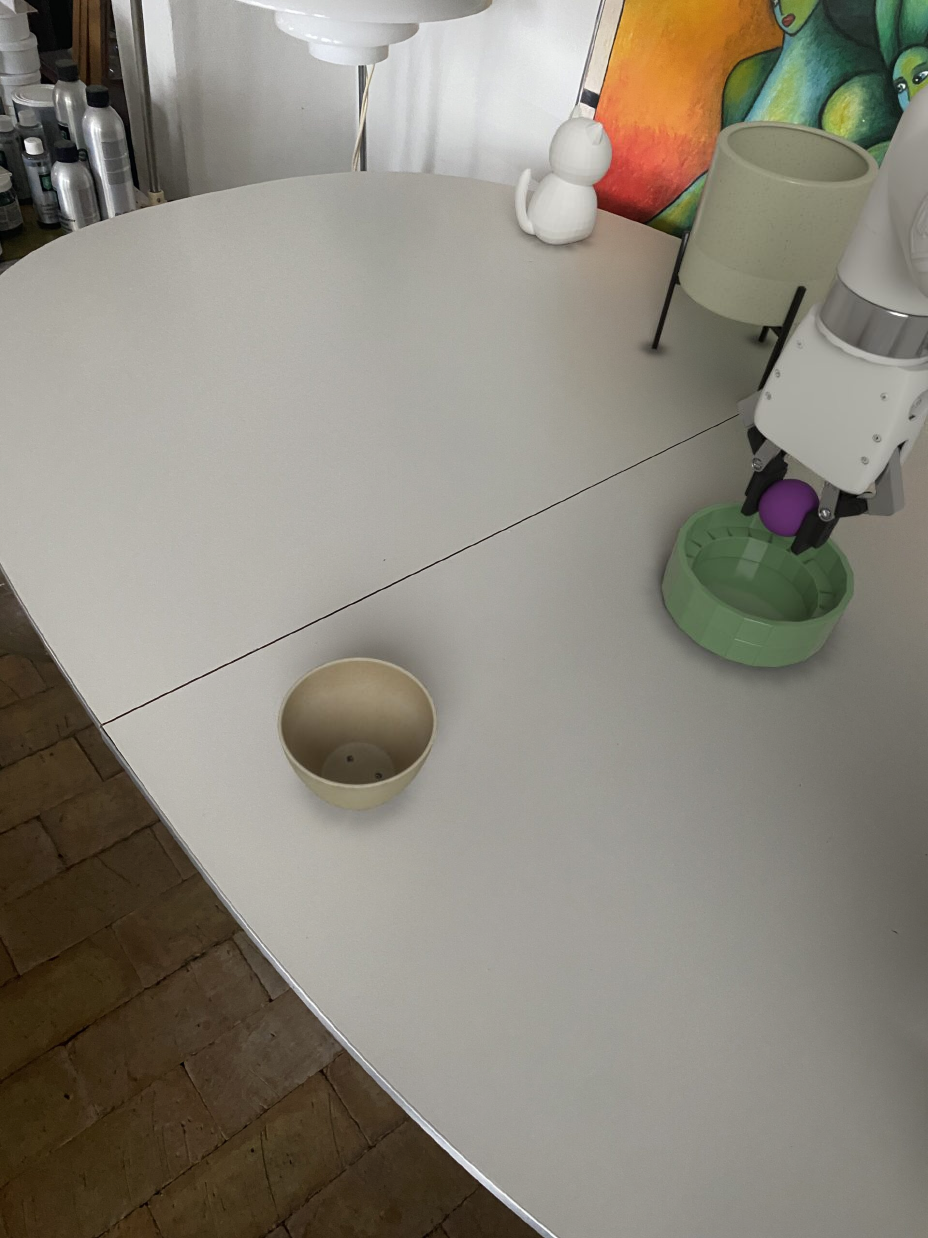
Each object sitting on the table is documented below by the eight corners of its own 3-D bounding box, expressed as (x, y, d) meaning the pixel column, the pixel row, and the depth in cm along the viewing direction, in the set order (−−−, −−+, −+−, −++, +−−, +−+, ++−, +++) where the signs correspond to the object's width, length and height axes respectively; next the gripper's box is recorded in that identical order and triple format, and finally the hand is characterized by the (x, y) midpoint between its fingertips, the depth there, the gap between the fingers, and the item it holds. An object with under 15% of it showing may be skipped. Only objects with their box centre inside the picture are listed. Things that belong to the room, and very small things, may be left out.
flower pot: (440, 834, 58) (448, 778, 53) (287, 851, 56) (279, 795, 51) (420, 711, 64) (426, 650, 59) (283, 723, 63) (275, 661, 57)
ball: (818, 535, 68) (841, 492, 64) (782, 556, 66) (804, 513, 63) (774, 502, 70) (795, 459, 67) (738, 522, 68) (758, 478, 65)
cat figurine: (609, 246, 116) (635, 125, 105) (525, 256, 113) (543, 132, 101) (578, 216, 122) (600, 98, 110) (497, 225, 118) (511, 103, 107)
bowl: (860, 624, 74) (889, 580, 70) (752, 699, 68) (776, 655, 64) (735, 527, 81) (755, 481, 77) (626, 586, 75) (641, 540, 71)
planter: (659, 315, 106) (717, 107, 88) (791, 344, 104) (876, 137, 86) (642, 382, 96) (704, 162, 78) (787, 416, 94) (883, 198, 77)
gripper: (1040, 362, 52) (897, 575, 65) (815, 240, 60) (730, 452, 74) (971, 400, 48) (837, 616, 62) (743, 265, 56) (669, 482, 70)
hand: (780, 525), depth 68 cm, fingers closed on ball, 4 cm apart
